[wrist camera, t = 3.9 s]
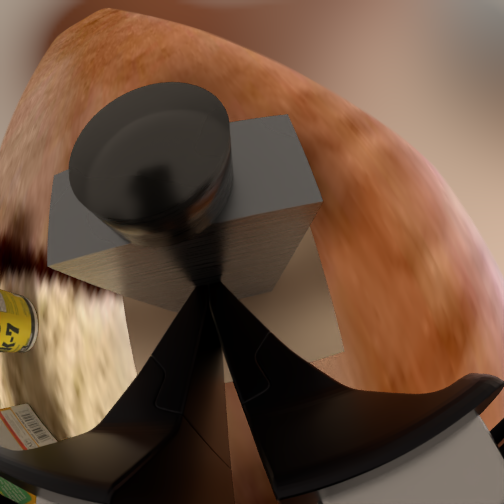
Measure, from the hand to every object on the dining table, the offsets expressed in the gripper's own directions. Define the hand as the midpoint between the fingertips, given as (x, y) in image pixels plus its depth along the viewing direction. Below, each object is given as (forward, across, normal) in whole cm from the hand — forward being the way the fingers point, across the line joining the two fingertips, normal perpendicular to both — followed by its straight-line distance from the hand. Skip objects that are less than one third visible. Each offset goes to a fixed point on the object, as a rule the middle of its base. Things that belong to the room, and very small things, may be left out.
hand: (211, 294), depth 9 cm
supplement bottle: (+7, +18, +5) cm, 19 cm away
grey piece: (+4, 0, +3) cm, 5 cm away
